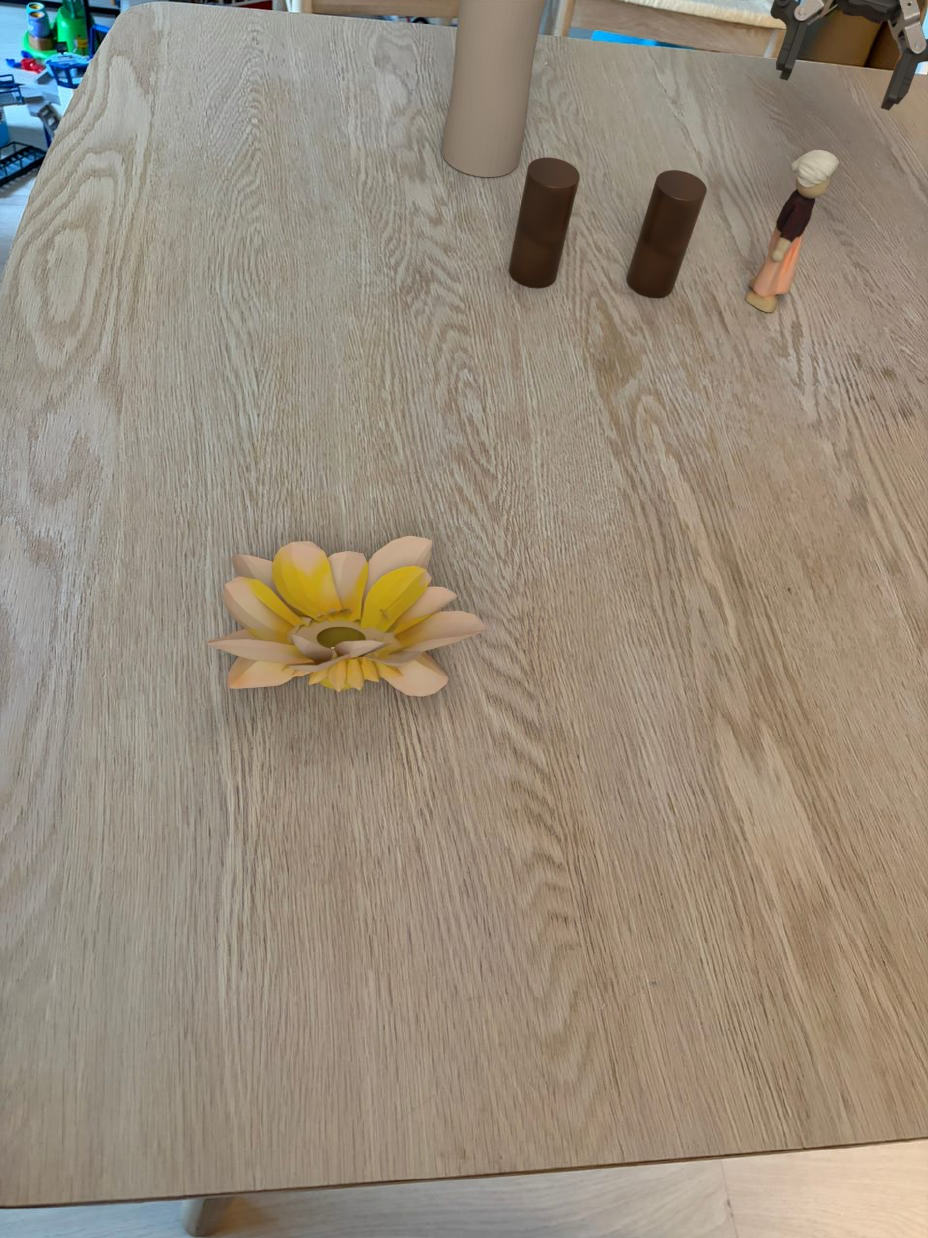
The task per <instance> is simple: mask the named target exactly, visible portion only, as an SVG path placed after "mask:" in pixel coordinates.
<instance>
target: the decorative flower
mask: <svg viewBox="0 0 928 1238" xmlns="http://www.w3.org/2000/svg"><path fill="white" fill-rule="evenodd" d="M432 549H433V540H431V539H429V538H427V537H420V536H415V535H406V536H402V537H399V538H396V539H392V540H391V541H389V542H388V543H387V544H385V545H383V547H381V548H379V549H378V550H377V551H376V552H374V553H373V555H372V556H371V557H370V559H369V561H367V558H366V557H365V554H364V553H363V552H358V551H351V550H346V551H339V552H334V553H332V554H331V555H329V556H328V557H327V554H326V552H325V551H324V550H323V549H322V548H320V547H319V546H318V545H316V544H315V543H314V542H312V541H311V540H305V541H292V542H289V543H287V544H285V545H283V546H281V547H279V549H278V551H277V553H276V554H275V555H274V558H273V560H269V559H265V558H262V557H259V556H256V555H255V556H254V555H249V554H244V553H238V554H234V555H233V556H231V558H230V560H231V565H232V568H233V569H234V571H235V573H236V575H237V576H235V578H233V579H232V580H230V581H227V582H226V583H225V584H224V586H223V590H222V594H221V595H222V600H223V605H224V607H225V608H226V610H227V612H228V613H229V616H230V617H231V618H232V619H233V620H234V621H235V622H236V623H237V624H238V625H240V627H241V628H242V629H240V630H237V631H233V632H232V633H228V634H226V635H223V636H221V637H217V638H214V639H211V640H208V641H206V642H203V643H202V644H203V645H206V646H209V647H211V648H214V649H217V650H221V651H222V652H223V651H224V652H225V653H228V654H231V655H234V656H237V658H236V659H235V660H234V662H233V663H232V665H231V667H230V669H229V671H228V672H227V685H228V687H229V689H239V690H240V689H254V688H255V689H256V688H266V687H267V688H268V687H276V686H277V687H278V686H279V687H280V686H281V685H283V684H286V683H288V682H289V681H290V680H292V679H293V678H294V677H303V676H307V675H308V682H307V684H308V686H311V685H314V684H317V683H318V684H320V685H321V686H322V687H325V688H327V689H330V690H332V689H333V691H337V692H338V693H340V692H342V691H343V692H344V691H348V690H351V689H355V690H358V691H362V688H363V686H364V684H365V681H367V680H368V681H371V682H376V683H380V678H381V679H384V680H386V682H387V683H389V684H390V685H391V686H392V687H393V688H394V689H396V690H398V691H399V692H401V693H403V694H404V695H406V696H409V697H412V696H413V697H422V698H423V697H427V696H431V695H434V694H436V693H438V691H440V690H441V689H442V688H444V686H445V685H447V683H448V681H449V677H448V675H447V674H446V673H445V671H444V670H443V669H442V667H440V665H439V664H438V663H437V662H436V660H434V659H433V657H432V656H430V654H429V653H428V652H427V651H431V650H434V649H437V648H441V647H444V646H449V645H452V644H455V643H458V642H460V641H463V640H465V639H468V638H470V637H473V636H475V635H478V634H480V633H483V632H486V631H487V627H486V625H485V624H484V623H483V622H482V621H481V620H480V618H479V617H478V616H477V615H476V614H474V613H471V612H467V611H462V610H448V611H442V609H444V608H445V607H446V606H448V605H449V604H450V603H452V602H453V601H454V600H456V599H457V597H458V595H457V594H456V593H455V592H453V591H451V590H449V589H448V588H446V587H444V586H429V585H430V584H431V581H432V579H433V578H432V576H431V574H430V573H429V572H428V568H429V564H430V560H431V555H432ZM331 647H335V648H334V649H331Z"/></svg>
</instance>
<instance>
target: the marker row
mask: <svg viewBox="0 0 928 1238" xmlns="http://www.w3.org/2000/svg"><path fill="white" fill-rule="evenodd" d="M580 178H581V176H580V173H579V170H578V169H577V168H576V166H574V165H573V164H571V162H568V161H566V160H564V159H560V158H556V157H539V158H536V159H533V160H532V161H531V162H530V163H528V166H527V170H526V175H525V180H524V181H525V182H524V186H523V191H522V197H521V202H520V207H519V211H518V217H517V218H518V219H517V223H516V228H515V234H514V239H513V243H512V250H511V254H510V260H509V265H508V273H509V275H510V277H511V279H513V281H514V282H516V283H518V284H519V285H520V286H521V285H522V286H524V287H527V288H531V289H543V288H548V287H550V286H551V285H553V284H554V283H555V281H556V280H557V277H558V272H559V267H560V263H561V258H562V254H563V251H564V246H565V242H566V238H567V233H568V229H569V225H570V221H571V218H572V212H573V208H574V204H575V201H576V200H575V199H576V195H577V191H578V187H579V182H580ZM707 192H708V189H707V186H706V184H705V182H704V181H703V180H702V179H700V178H699V177H698V176H697V175H695V174H692V173H690V172H687V171H683V170H679V169H678V170H677V169H669V170H664V171H661V172H660V173H659V174H658V175H657V176H656V178H655V181H654V184H653V188H652V192H651V195H650V198H649V201H648V204H647V208H646V211H645V215H644V217H643V222H642V224H641V228H640V231H639V235H638V238H637V241H636V244H635V247H634V250H633V254H632V257H631V261H630V264H629V268H628V272H627V275H626V283H627V285H628V286H629V288H630V289H631V290H633V291H634V292H635V293H637V294H639V295H640V296H643V297H645V298H651V299H659V298H660V299H661V298H664V297H667V296H669V295H670V294H671V293H672V292H673V291H674V288H675V285H676V281H677V279H678V275H679V274H680V270H681V267H682V265H683V262H684V259H685V256H686V253H687V251H688V247H689V244H690V241H691V238H692V236H693V233H694V229H695V227H696V224H697V223H698V222H697V221H698V218H699V215H700V212H701V210H702V207H703V204H704V202H705V198H706V196H707Z"/></svg>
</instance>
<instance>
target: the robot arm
mask: <svg viewBox="0 0 928 1238" xmlns="http://www.w3.org/2000/svg"><path fill="white" fill-rule="evenodd" d="M836 7H838V8H839V9H840V10H841V11H842V12H841V13H842V15H845V16H848V17H849V16H850V17H862V18H863V19H865V20H867V21H868V22H871V23H874V24H878V25H880V24H881V22H887V24H888V27H889V30H890V34H891V37H892V39H893V40H894V41H895V42H896V45H897V48H898V52H899V55H900V58H899V59H898V61H897V62H896V64H895V66H894V68H893V72H892V74H891V76H890V81H889V83H888V85H887V88H886V90H885V93H884V96H883V99H882V102H881V105H880V109H882V110H886V111H890V110H891V109H892V108H893V107H894V105H897V106H899V104H900V103H901V102H902V100H903V99H904V98H905V97H906V96H907V95H908V93H909V92H910V91H909V90H910V88H911V84H912V82H913V80H914V77H915V74H916V71H917V68H918V66H919V64H920V63H927V62H928V38H926V36H925V33H924V29H923V26H922V22H921V17H922V16H921V15H922V13H921V10H920V6H919V3H918V0H803V1H802V2H801V3H800V2H798V0H773V2H772V5H771V8H770V11H769V13H770V16H771V17H772V19H773V20H780V21H781V22H782V23H783V24H784V25H785V27H786V32H785V35H784V39H783V40H782V43H781V47H780V50H779V52H778V56H777V59H776V61H775V70H777V71H781V72H780V75H779V80H782V81H789V79H790V77H791V75H792V73H793V70H794V67H795V64H796V61H797V58H798V56H799V53H800V50H801V47H802V44H803V42H804V41H803V40H804V38H805V35H806V33H807V30H808V27H809V26H810V25H812V24H813V23H814V22H815V21H816V20H818V19H821V18H823V17H824V16H826V15H827V14H828V13H830V12H831V11H833V10H834V9H835V8H836Z"/></svg>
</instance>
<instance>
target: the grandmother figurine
mask: <svg viewBox="0 0 928 1238" xmlns="http://www.w3.org/2000/svg"><path fill="white" fill-rule="evenodd" d="M839 163H840V161H839V159H838V158H837V156H835V155H834V154H833V153H832V152H830V151H827V150H823V149H813V150H810V151H808V152H806V153H804V154H802V155H801V156H800V157H799V158H796V160H794V161H793V162H792V164H791V165H790V171H791V172H792V173H795V187H796V189H794V191H792V192H791V194H790V196H789V197H788V198H787V200H786V201H785V202H784V204H783V205H782V207H781V210H780V211H779V212H780V213H779V215H778V216H777V219H776V223H775V224H776V225H775V227H774V230H773V232H772V235H771V238H770V240H769V245H768V249H767V250H768V251H767V256H766V257H765V260H764V261H763V262H762V264H761V266H760V267H759V269H758V272H757V274H756V275H755V276H753V277H751V278H750V279H749V282H748V285H749V287H750V288H751V289H752V290H750V291H749V292H747V293H746V295H745V297H744V299H745V302H747V303H748V304H750V305H751V306H753V307H754V308H756V309H758V310H759V311H762V312H764V313H774V312H775V311H776V310H777V309H778V300H777V298H776V297H775V296H778V295H785V294H787V293H789V291H791V287H792V285H793V282H794V279H795V275H796V272H797V268H798V266H799V265H798V264H799V260H800V256H801V252H802V246H803V241H804V233H805V230H806V228H807V227H808V224H809V223H810V221H811V218H812V214H813V209H814V207H815V204H816V198H817V199H818V198H819V197H821V196H823V195H824V194H826V192H827V190H828V189H829V188H830V185H831V182H832V175H833V173H835V172H836V170H837V169H838V166H839Z"/></svg>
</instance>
